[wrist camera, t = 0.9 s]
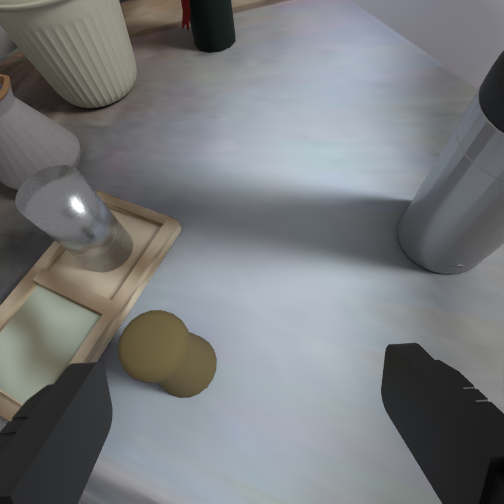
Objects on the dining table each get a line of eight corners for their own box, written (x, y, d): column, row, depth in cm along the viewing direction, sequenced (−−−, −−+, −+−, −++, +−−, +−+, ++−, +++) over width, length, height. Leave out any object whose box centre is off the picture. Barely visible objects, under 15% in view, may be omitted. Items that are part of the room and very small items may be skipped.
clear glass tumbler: (103, 222, 40) (47, 158, 30) (142, 237, 38) (96, 174, 28) (73, 261, 37) (0, 205, 28) (113, 280, 36) (51, 227, 26)
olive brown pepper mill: (158, 403, 30) (101, 394, 21) (156, 340, 33) (106, 307, 24) (220, 391, 30) (192, 376, 21) (213, 330, 33) (185, 292, 24)
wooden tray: (104, 200, 43) (96, 190, 41) (182, 229, 40) (177, 219, 38) (-39, 378, 33) (-59, 376, 31) (49, 436, 30) (33, 437, 28)
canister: (174, 85, 54) (119, -90, 36) (81, 140, 49) (-39, -30, 31) (120, 46, 61) (52, -116, 43) (34, 91, 56) (-85, -70, 38)
